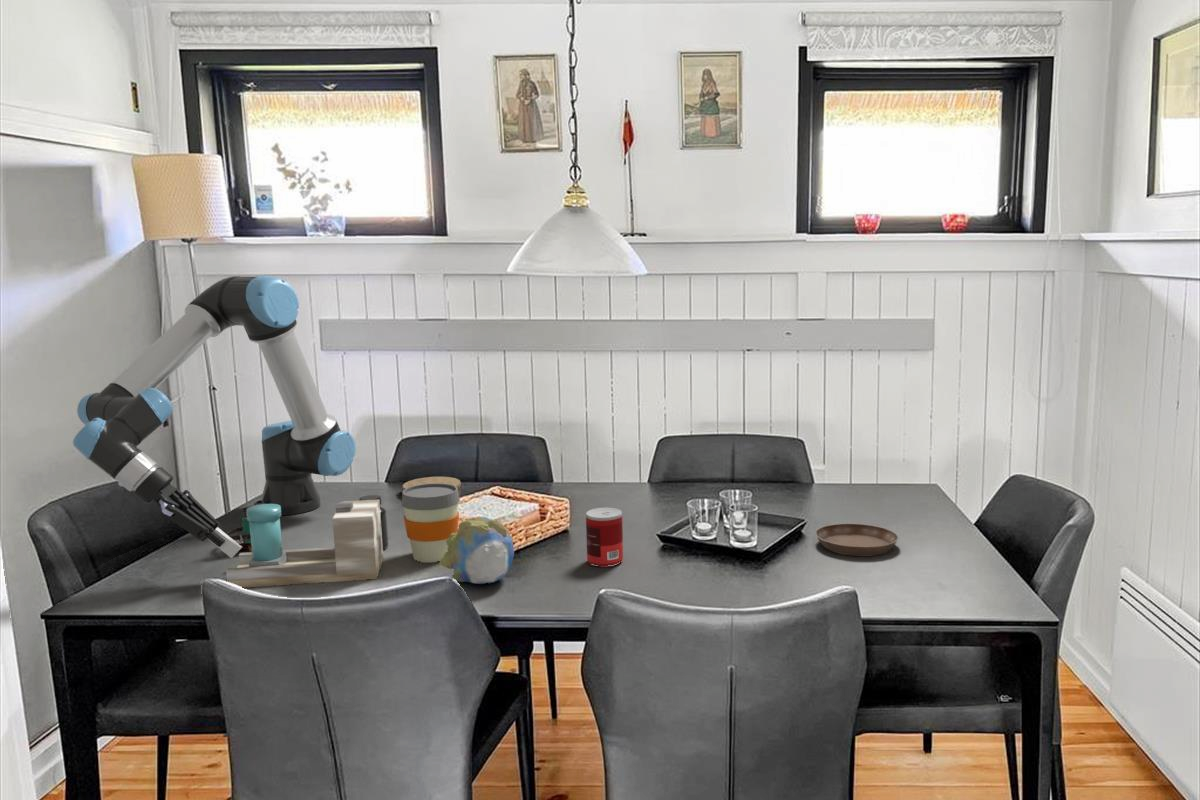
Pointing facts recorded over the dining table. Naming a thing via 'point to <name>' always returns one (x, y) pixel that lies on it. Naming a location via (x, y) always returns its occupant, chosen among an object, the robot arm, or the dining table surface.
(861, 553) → the plant saucer
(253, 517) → the knob slider
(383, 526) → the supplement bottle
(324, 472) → the robot arm
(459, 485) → the tan shallow dish
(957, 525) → the dining table surface
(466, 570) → the decorative rock
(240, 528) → the binoculars
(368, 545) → the knob mount
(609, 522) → the canned food
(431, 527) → the reusable coffee cup
